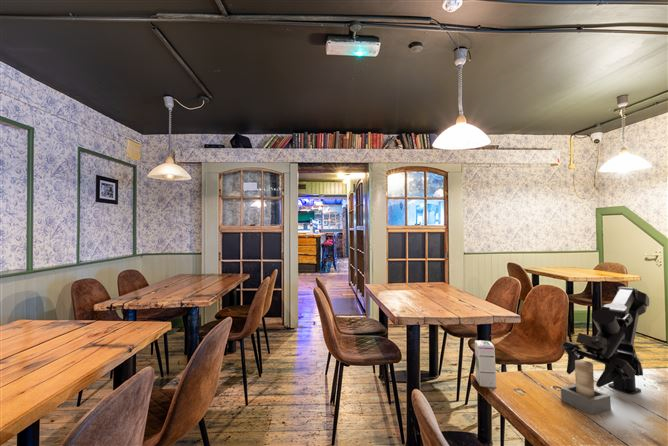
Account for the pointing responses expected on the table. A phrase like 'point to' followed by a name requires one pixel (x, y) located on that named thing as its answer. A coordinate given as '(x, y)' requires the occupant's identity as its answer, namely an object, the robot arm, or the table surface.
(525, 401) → the table surface
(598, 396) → the square sleeve socket
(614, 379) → the robot arm
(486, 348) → the syrup box
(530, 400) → the table surface
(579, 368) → the wooden peg
